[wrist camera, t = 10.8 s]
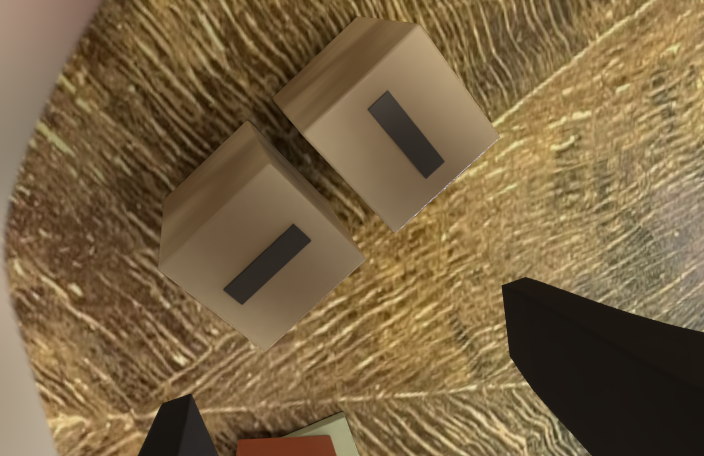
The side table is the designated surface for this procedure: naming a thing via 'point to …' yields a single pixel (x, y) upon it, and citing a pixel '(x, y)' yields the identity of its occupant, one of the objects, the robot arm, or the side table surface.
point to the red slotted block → (287, 446)
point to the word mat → (332, 434)
